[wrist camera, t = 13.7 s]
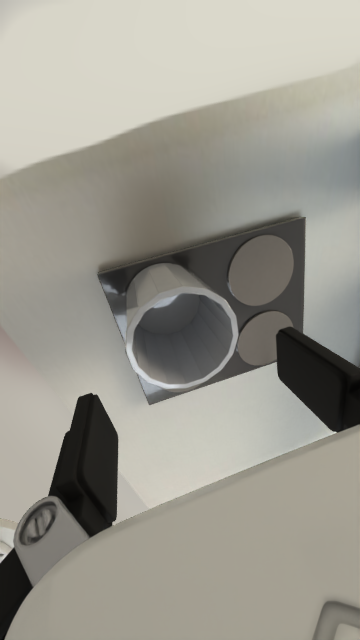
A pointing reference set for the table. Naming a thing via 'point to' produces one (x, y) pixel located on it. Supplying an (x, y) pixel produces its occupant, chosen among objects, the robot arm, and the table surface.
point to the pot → (177, 327)
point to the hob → (234, 291)
